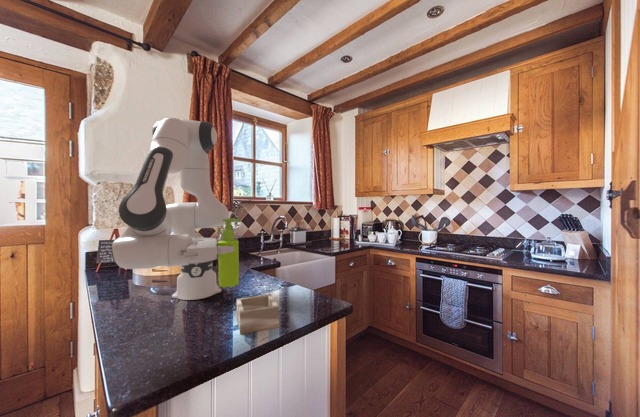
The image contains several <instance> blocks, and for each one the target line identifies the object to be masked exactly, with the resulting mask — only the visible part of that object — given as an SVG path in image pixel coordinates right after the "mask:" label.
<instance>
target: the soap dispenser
mask: <svg viewBox="0 0 640 417" xmlns="http://www.w3.org/2000/svg"><path fill="white" fill-rule="evenodd" d="M223 221H225V225H224V229H223V230H222V231H221V232H222V240H219V241H217V242H218V246H234V252H230V253H224V254H217V260H218V261H217V262H218V263H217V264H218V267H217V268H218V271H217V272H218V274H217V275H218V286H219V287H220V288H232V287H236V286H238V285H239V284H240V260H239V259H240V258H239V256H240V254H239V253H240V251H239V249H240V248H239V245H240V244H239V242H240V241H239V240H237V239H235V228H234V229H233V228H232V222H237V223H239V222H242V219H238V218H228V219H223Z"/></svg>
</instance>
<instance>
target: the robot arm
mask: <svg viewBox="0 0 640 417" xmlns="http://www.w3.org/2000/svg"><path fill="white" fill-rule="evenodd" d="M151 131H152V133H151V135H152V139H151V141H150V145H149V149H148V152H147V156H146V158H145V159H144V162H143V164H142V167H141V170H140V171H139V175H138V177H137V179H136V181H135V184H134V186H133V188H132V189H131V190H130V191H129V192H128V193H127V194H126V195H125V196H123V197H124V198H122V200H121V201H120V203H119V206H118V214H119V217H120V219H121V220H122V222H123V223H124V224H125V225H127V227H126V228H125V230H124V231H123V232H122V234H121V235H120V236H119V237H118V238H116V239H115V240H113V241H112V243H111V256H112V259H113V262H114V263H115V264H116V266H118V267H120V268H121V269H128V270H141V269H142V270H144V269H154V268H157V267H168V268H169V267H171V268H172V267H180V271H181V273H180V274H179V275H178V276H177V278H176V291H175V292H173V294H172V295H171V298H172V299H178V300H183V301H190V300H191V301H194V300H201V299H206V298H209V297H211V296H214V295H216V294H219V293H221V292H222V287H220V286H219V284H217V282H218V281H217V273H216V272H215V271H214V270H213V261H216V260H218V254H224V253H230V252H234V246H218V242H219V241H218V240H217V238H214V237H204V236H201V235H199V234H197V232H196V229H214V228H219V227H223V226H225V221H223V219H230V218H229V217H230V214H229V213H230V212H229V209H228V207H227V206H226V204H224V203H222V202H221V201H220V200H219V199H218V198H217V197H216V196H215V194H214V192H213V190H212V185H211V176H210V175H211V174H210V172H211V171H210V160H209V153H210V152H211V150H213V149H214V148H215V147H216V145H217V141H218V133H217V130H216V127H215V125H213V123H212V122H209V121H204V120H202V121H199V120H192V119H179V118H177V117H166V118H163V119H162V120H159V121H156V122H155V123H154V125H153V127H152V130H151ZM177 173H179V177H180V178H179V179H180V182H179V183H180V187H181V189H182V190H183V191H184V192H186V193H188V194H190V195H192V196H194V197H195V198H196V199H197V201H196V202H192V201H191V202H174V203H169V204H166V200H165V198H164V191H165V187H166V183H167V180H168V178H169V174H177ZM171 232H173V233H174V234H171Z"/></svg>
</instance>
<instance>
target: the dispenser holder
mask: <svg viewBox="0 0 640 417" xmlns="http://www.w3.org/2000/svg"><path fill="white" fill-rule="evenodd" d="M235 302H236V320H237V325H238V330H239V335H245V334H249V333H250V334H251V333H254V332H255V333H256V332H259V331H265V330H270V329H277V328H280V306H279V304H278V303H277V301H276V300H275V298H274V297H273V296H272V294H271V293H269V294H264V295H263V294H262V295H256V296H249V297H242V298H240V297H239V298H236V301H235Z"/></svg>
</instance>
